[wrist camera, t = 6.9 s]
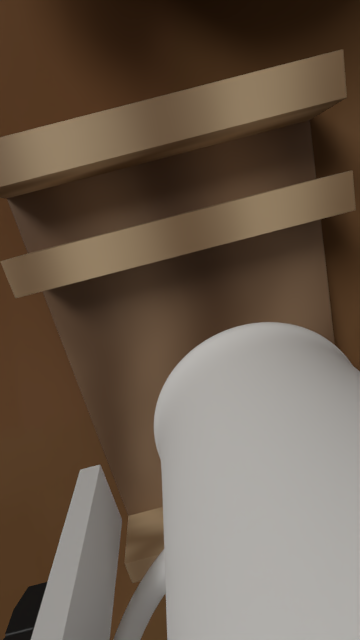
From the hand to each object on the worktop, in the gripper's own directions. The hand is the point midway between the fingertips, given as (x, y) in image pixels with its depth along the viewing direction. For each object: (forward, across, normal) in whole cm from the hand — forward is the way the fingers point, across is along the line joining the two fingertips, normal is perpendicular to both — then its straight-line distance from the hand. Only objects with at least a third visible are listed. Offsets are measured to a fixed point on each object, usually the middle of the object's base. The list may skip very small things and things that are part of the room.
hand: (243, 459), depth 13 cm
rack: (+7, 0, +2) cm, 8 cm away
